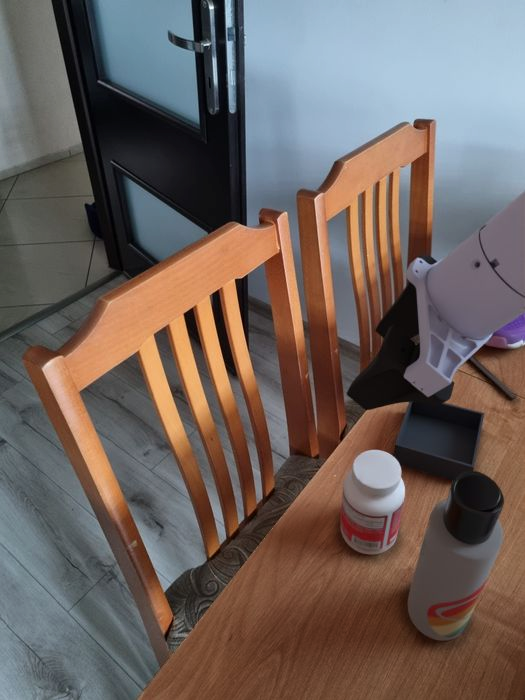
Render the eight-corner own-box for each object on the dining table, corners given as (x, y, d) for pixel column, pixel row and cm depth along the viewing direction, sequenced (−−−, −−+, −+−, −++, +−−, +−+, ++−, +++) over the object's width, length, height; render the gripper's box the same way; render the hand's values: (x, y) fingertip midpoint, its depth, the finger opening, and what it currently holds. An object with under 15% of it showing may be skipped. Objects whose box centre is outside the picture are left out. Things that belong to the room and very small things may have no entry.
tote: (478, 431, 71) (484, 412, 69) (468, 485, 65) (474, 467, 63) (408, 412, 74) (411, 394, 72) (391, 462, 68) (394, 444, 66)
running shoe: (457, 351, 83) (471, 297, 76) (482, 271, 98) (495, 220, 92) (525, 368, 80) (546, 313, 73) (540, 283, 95) (559, 231, 88)
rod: (513, 397, 74) (517, 396, 74) (429, 319, 88) (432, 318, 88) (512, 401, 75) (516, 399, 75) (428, 323, 88) (431, 322, 88)
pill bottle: (379, 499, 64) (389, 436, 57) (407, 545, 59) (422, 482, 52) (330, 517, 62) (334, 454, 55) (355, 565, 58) (363, 503, 51)
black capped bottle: (474, 642, 52) (531, 522, 39) (412, 642, 52) (449, 523, 39) (458, 583, 56) (505, 457, 43) (401, 583, 56) (431, 458, 43)
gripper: (482, 168, 38) (360, 283, 48) (441, 284, 28) (298, 397, 38) (557, 235, 38) (422, 334, 48) (543, 371, 29) (377, 459, 39)
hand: (372, 366), depth 43 cm, fingers open, 7 cm apart
